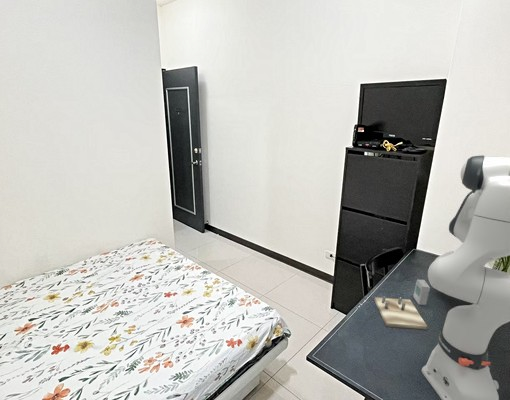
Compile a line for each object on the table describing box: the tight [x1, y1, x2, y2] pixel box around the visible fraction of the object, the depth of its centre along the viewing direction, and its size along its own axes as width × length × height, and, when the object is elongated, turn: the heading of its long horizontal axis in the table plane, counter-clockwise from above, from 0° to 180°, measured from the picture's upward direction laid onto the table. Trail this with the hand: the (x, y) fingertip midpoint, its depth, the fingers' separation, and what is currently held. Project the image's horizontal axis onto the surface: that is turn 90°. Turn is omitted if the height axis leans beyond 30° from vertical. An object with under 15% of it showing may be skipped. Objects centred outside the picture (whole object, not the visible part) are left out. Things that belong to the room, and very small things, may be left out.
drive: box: [412, 279, 431, 306], centre depth 126 cm, size 6×3×9 cm, turn 174°
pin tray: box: [373, 295, 428, 330], centre depth 119 cm, size 16×15×4 cm
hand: (437, 280), depth 124 cm, fingers open, 8 cm apart
